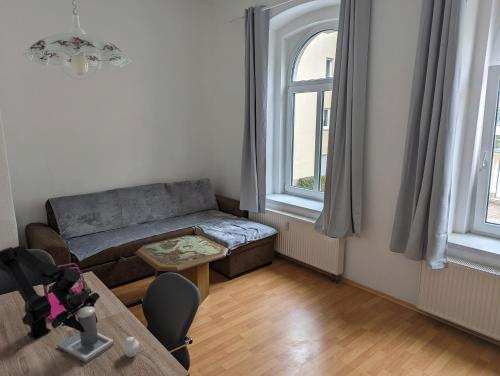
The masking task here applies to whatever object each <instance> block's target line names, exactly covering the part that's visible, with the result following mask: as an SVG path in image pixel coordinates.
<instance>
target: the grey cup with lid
mask: <svg viewBox="0 0 500 376" xmlns="http://www.w3.org/2000/svg"><path fill="white" fill-rule="evenodd" d="M95 314H96V311H95V306H94V307H84V308H81V309H80V310H78V312H77V314H76V315H77V316H76V317H77V321H78V322H79V323H80V324H81V326H82V327H83V328H84V330H85V331H84V332H80V331H78V333H79V332H80V340H81V345H82V346H84V347H89V346H92V345H94V344H96V343H97V342H98V334H97V333H98V328H97V323H96V317H97V316H96V317H95Z"/></svg>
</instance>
